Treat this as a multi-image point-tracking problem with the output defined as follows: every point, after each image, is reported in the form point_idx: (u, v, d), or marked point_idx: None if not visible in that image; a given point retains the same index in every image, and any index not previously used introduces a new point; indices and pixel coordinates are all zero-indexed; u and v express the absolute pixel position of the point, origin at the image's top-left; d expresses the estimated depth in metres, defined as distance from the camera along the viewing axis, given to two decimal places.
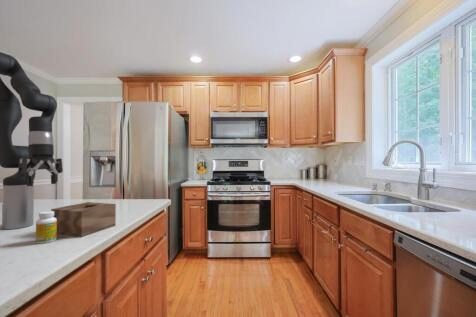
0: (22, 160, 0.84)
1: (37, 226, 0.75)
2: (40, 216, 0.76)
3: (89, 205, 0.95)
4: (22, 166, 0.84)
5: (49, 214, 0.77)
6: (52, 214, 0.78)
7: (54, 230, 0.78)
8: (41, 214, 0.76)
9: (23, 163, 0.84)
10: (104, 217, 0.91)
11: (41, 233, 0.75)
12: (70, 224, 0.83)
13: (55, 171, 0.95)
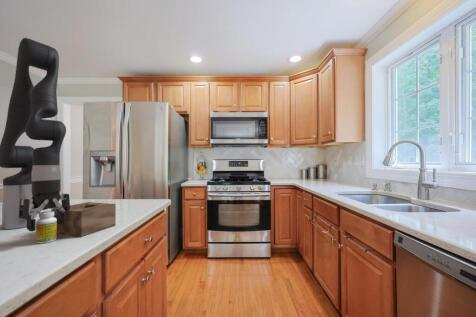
0: (24, 202, 0.71)
1: (37, 226, 0.75)
2: (40, 216, 0.76)
3: (89, 205, 0.95)
4: (23, 209, 0.71)
5: (49, 214, 0.77)
6: (52, 214, 0.78)
7: (54, 230, 0.78)
8: (41, 214, 0.76)
9: (25, 205, 0.71)
10: (104, 217, 0.91)
11: (41, 233, 0.75)
12: (70, 224, 0.83)
13: (61, 209, 0.81)
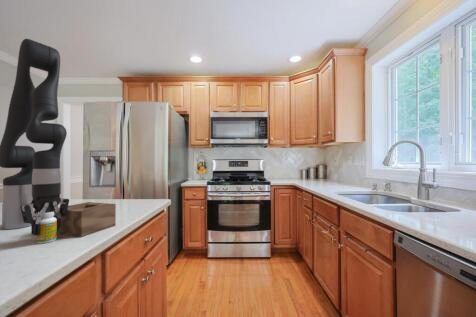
0: (24, 208, 0.71)
1: None
2: None
3: (89, 205, 0.95)
4: (26, 215, 0.72)
5: (49, 214, 0.77)
6: (52, 214, 0.78)
7: (54, 230, 0.78)
8: None
9: (26, 211, 0.72)
10: (104, 217, 0.91)
11: (41, 233, 0.75)
12: (70, 224, 0.83)
13: (58, 215, 0.81)
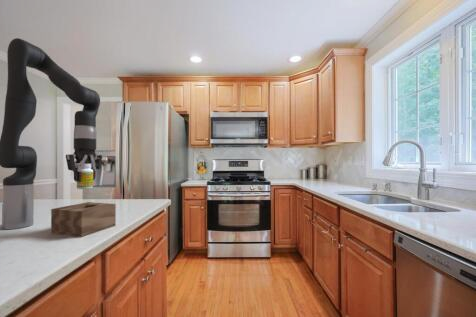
0: (69, 156, 0.85)
1: None
2: None
3: (89, 205, 0.95)
4: (71, 162, 0.85)
5: (88, 165, 0.91)
6: (90, 165, 0.91)
7: (91, 179, 0.91)
8: None
9: (71, 159, 0.85)
10: (104, 217, 0.91)
11: (82, 180, 0.89)
12: (70, 224, 0.83)
13: (94, 167, 0.94)
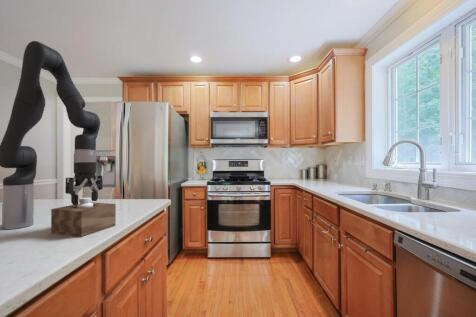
0: (69, 179, 0.85)
1: None
2: (80, 201, 0.90)
3: None
4: (69, 185, 0.85)
5: (88, 199, 0.91)
6: (90, 199, 0.92)
7: None
8: (81, 199, 0.90)
9: (70, 182, 0.85)
10: (104, 217, 0.91)
11: None
12: (70, 224, 0.83)
13: (96, 188, 0.95)
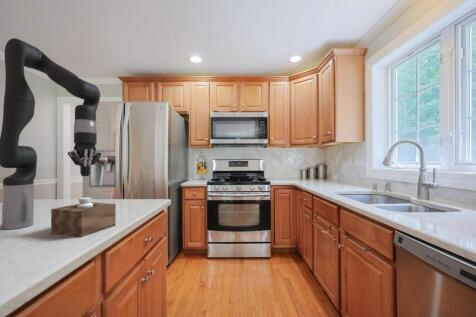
0: (72, 154, 0.86)
1: None
2: (80, 201, 0.89)
3: None
4: (75, 159, 0.87)
5: (87, 199, 0.90)
6: (90, 200, 0.91)
7: None
8: (81, 199, 0.90)
9: (74, 156, 0.86)
10: (104, 217, 0.91)
11: None
12: (70, 224, 0.83)
13: (89, 162, 0.92)
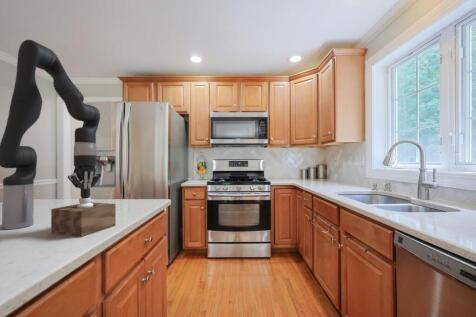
0: (72, 178, 0.86)
1: None
2: (80, 201, 0.90)
3: None
4: (75, 182, 0.87)
5: (87, 200, 0.90)
6: (90, 200, 0.91)
7: None
8: (81, 199, 0.90)
9: (74, 180, 0.86)
10: (104, 217, 0.91)
11: None
12: (70, 224, 0.83)
13: (89, 184, 0.92)
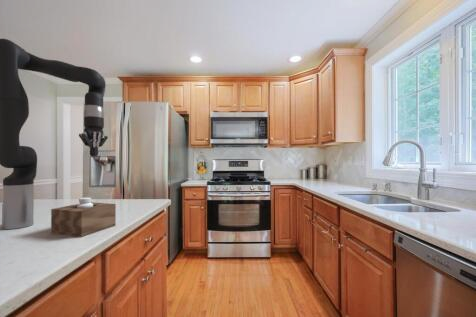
0: (82, 136, 0.96)
1: None
2: (80, 201, 0.90)
3: None
4: (86, 140, 0.97)
5: (87, 199, 0.90)
6: (90, 200, 0.91)
7: None
8: (81, 199, 0.90)
9: (85, 138, 0.97)
10: (104, 217, 0.91)
11: None
12: (70, 224, 0.83)
13: (97, 144, 1.02)
